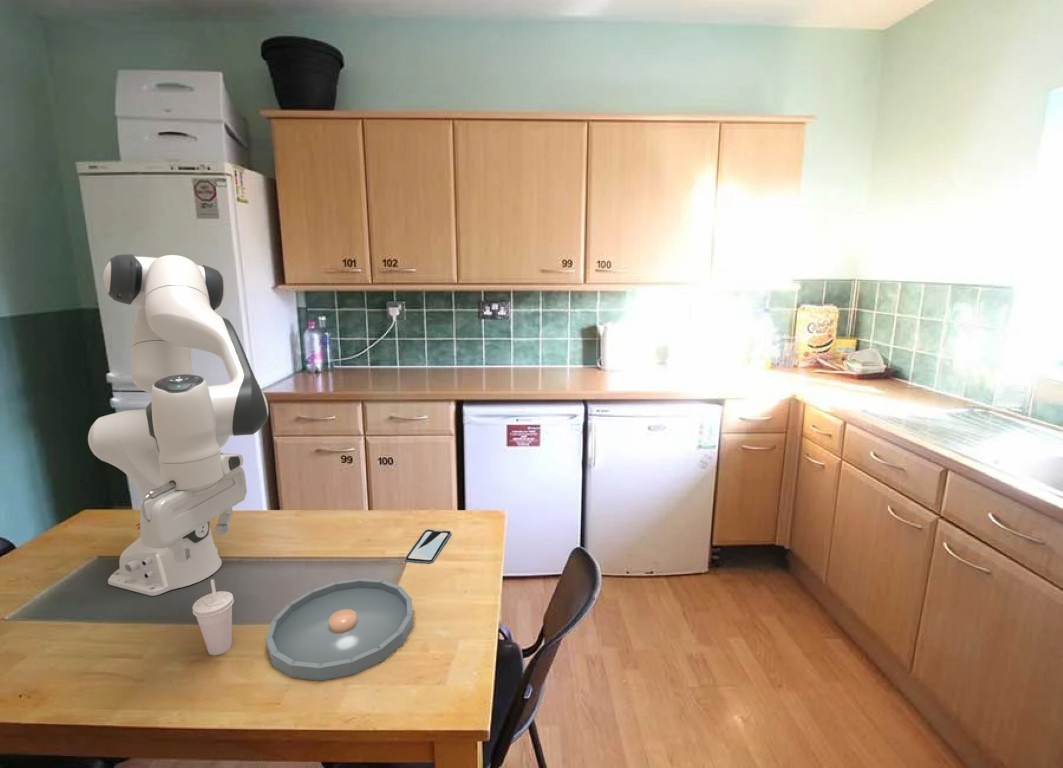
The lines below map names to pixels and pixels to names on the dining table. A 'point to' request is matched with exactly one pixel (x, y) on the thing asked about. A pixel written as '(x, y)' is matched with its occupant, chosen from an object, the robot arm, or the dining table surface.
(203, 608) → the smoothie
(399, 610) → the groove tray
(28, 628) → the dining table surface
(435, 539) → the smartphone
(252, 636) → the dining table surface
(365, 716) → the dining table surface
